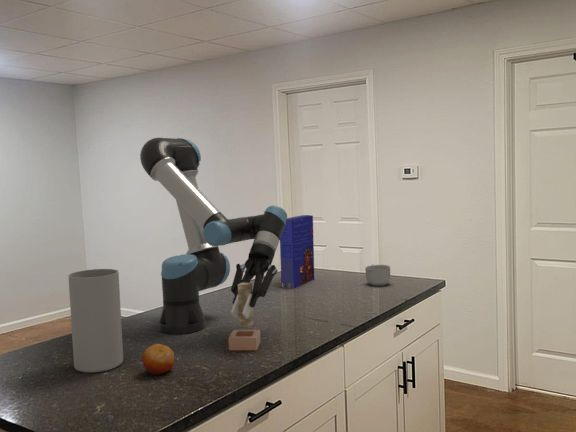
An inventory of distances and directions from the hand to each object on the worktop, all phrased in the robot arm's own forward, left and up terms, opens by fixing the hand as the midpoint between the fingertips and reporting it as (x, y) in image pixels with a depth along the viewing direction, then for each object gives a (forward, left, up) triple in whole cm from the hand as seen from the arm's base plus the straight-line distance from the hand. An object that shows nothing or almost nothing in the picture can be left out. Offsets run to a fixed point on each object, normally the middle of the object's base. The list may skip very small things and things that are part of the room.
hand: (239, 315), depth 155 cm
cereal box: (+11, +92, -10) cm, 93 cm away
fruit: (-18, -17, -10) cm, 27 cm away
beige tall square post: (+1, +4, -4) cm, 5 cm away
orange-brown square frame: (+1, +4, -10) cm, 11 cm away
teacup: (+46, +89, -10) cm, 101 cm away
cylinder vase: (-36, -12, -10) cm, 40 cm away
